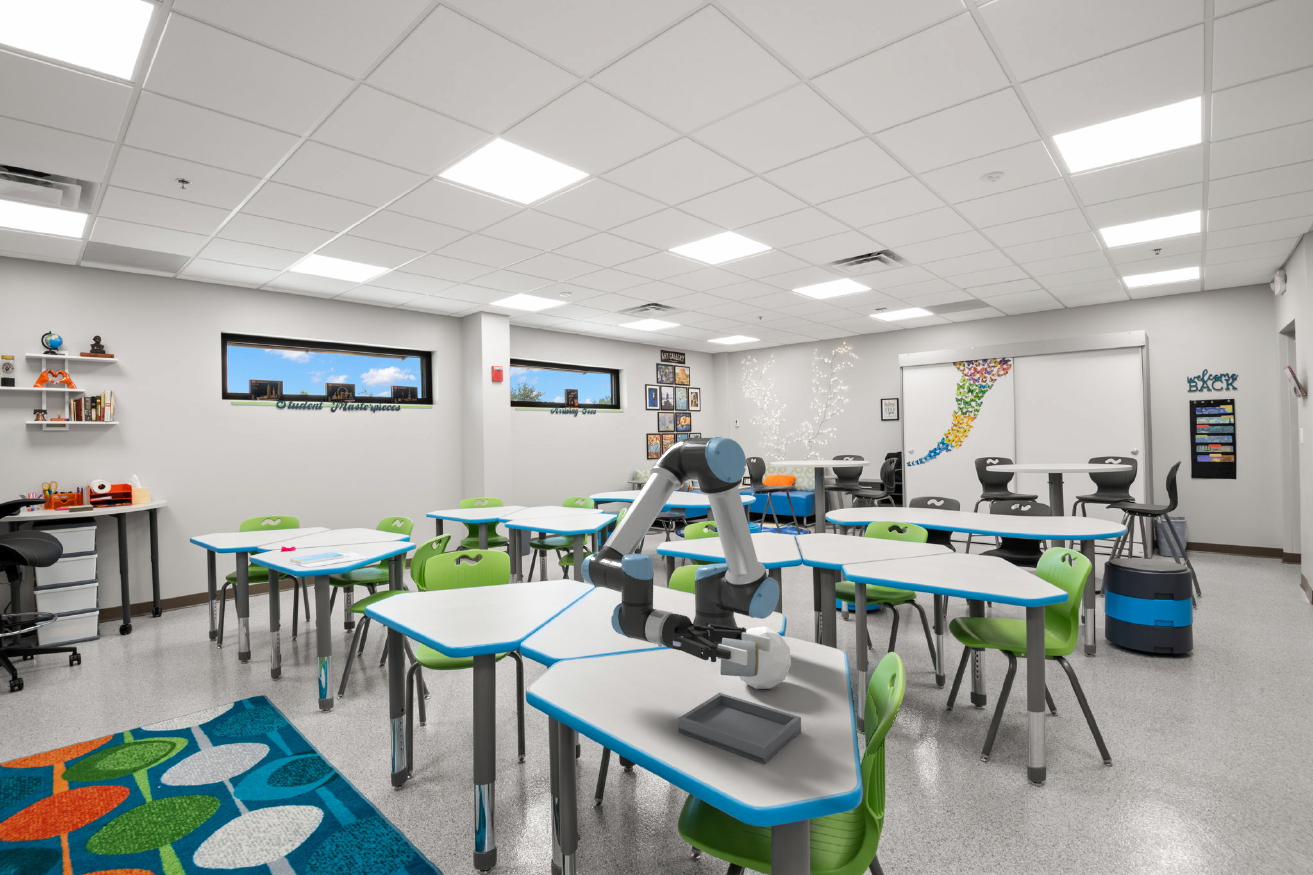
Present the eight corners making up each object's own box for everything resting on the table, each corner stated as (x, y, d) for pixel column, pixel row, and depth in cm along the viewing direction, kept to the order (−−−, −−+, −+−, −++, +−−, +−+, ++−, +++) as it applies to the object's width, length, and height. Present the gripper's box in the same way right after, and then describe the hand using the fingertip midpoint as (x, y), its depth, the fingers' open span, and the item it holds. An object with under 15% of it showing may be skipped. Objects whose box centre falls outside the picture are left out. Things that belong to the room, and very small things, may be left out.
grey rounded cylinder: (759, 682, 122) (759, 645, 122) (720, 680, 123) (720, 643, 123) (757, 664, 132) (757, 630, 132) (720, 663, 133) (720, 629, 133)
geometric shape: (760, 713, 145) (741, 675, 138) (732, 670, 158) (713, 634, 151) (809, 680, 147) (792, 641, 140) (777, 641, 160) (760, 603, 153)
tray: (719, 705, 138) (719, 692, 138) (801, 731, 125) (801, 717, 125) (678, 732, 125) (678, 717, 125) (764, 764, 113) (764, 748, 113)
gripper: (697, 634, 145) (782, 654, 131) (639, 660, 128) (730, 686, 114) (697, 603, 145) (782, 620, 131) (639, 624, 128) (730, 647, 114)
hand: (758, 651), depth 123 cm, fingers closed on grey rounded cylinder, 9 cm apart
